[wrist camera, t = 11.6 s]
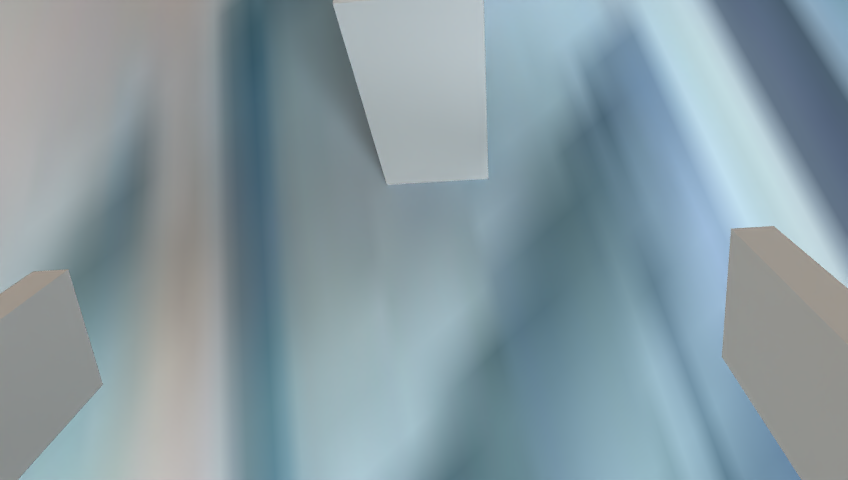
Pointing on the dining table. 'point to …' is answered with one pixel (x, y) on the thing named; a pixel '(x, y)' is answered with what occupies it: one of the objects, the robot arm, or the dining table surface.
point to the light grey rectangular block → (421, 85)
